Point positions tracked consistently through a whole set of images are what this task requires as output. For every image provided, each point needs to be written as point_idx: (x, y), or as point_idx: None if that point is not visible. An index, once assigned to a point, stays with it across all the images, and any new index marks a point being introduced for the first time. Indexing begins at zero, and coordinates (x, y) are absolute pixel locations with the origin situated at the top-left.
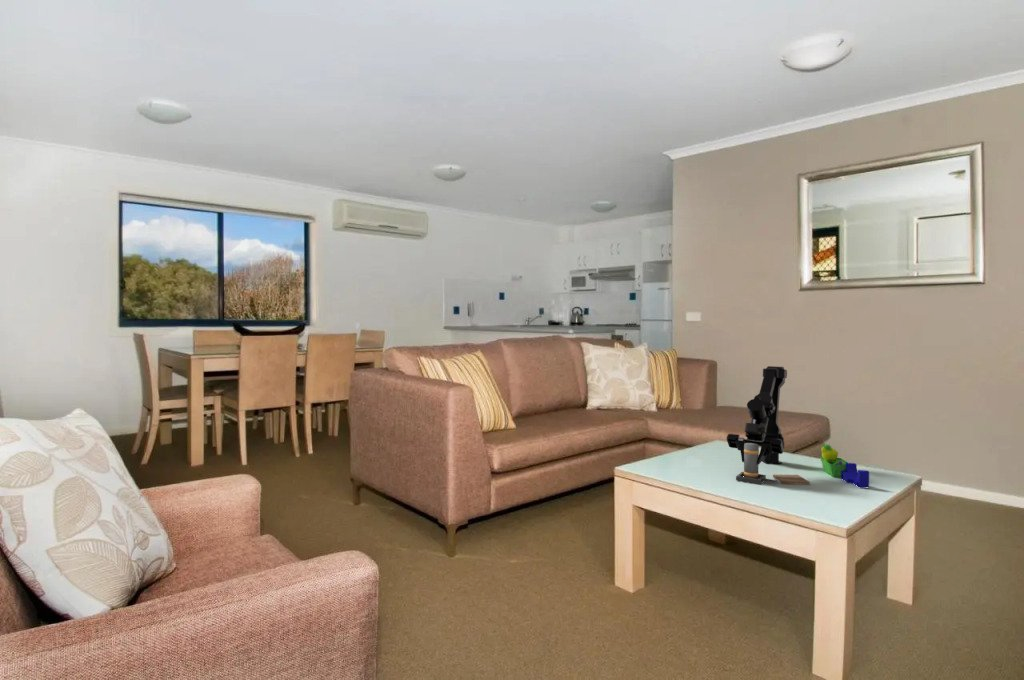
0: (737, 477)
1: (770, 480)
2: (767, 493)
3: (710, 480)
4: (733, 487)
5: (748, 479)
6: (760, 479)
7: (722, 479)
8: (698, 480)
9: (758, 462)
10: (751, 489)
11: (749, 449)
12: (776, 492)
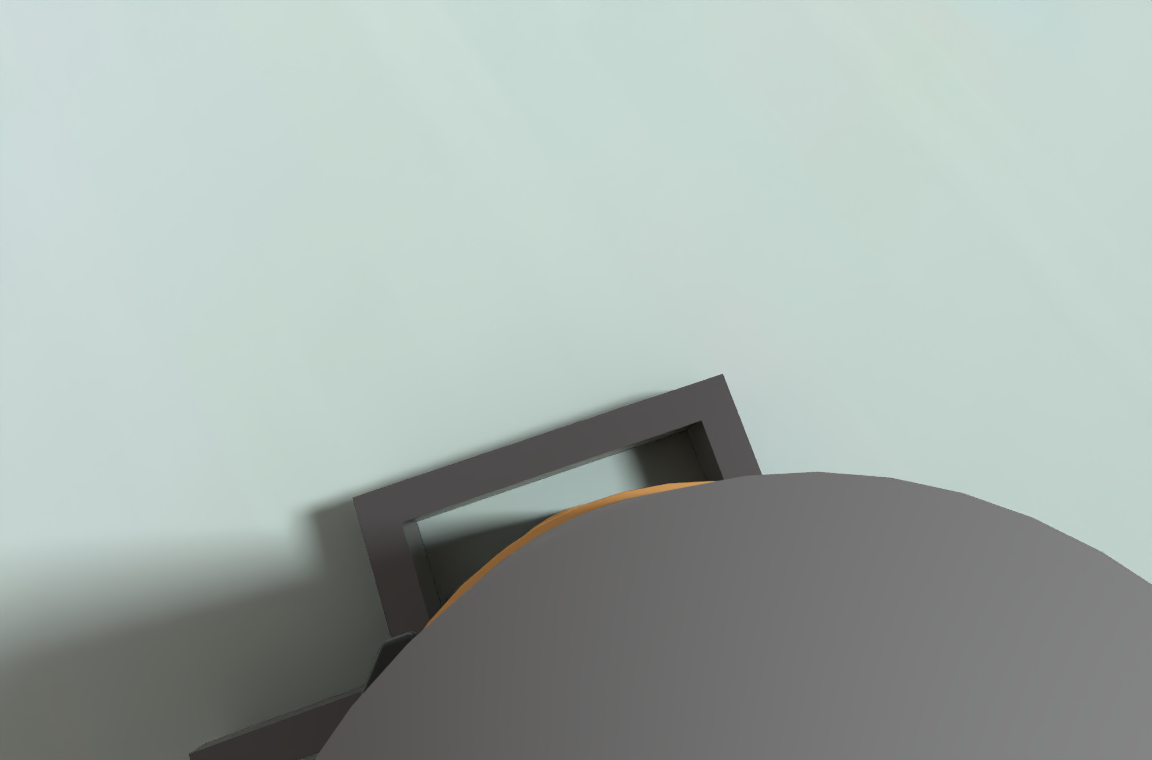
0: (698, 382)
1: (285, 716)
2: (94, 184)
3: (910, 127)
4: (528, 83)
5: (536, 436)
6: (372, 536)
7: (862, 298)
8: (987, 12)
9: (378, 652)
10: (329, 182)
11: (615, 501)
12: (26, 321)
